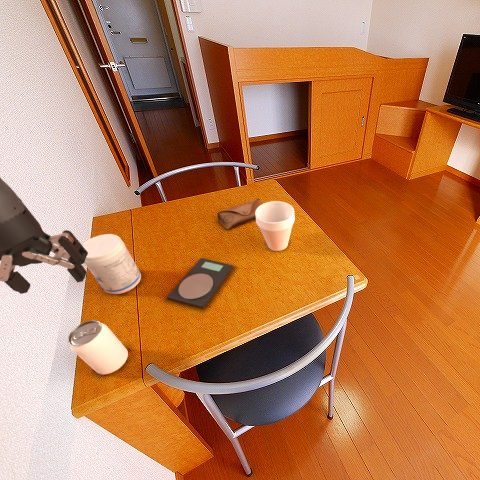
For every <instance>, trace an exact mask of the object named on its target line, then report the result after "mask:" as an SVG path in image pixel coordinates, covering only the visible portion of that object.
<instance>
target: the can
mask: <svg viewBox="0 0 480 480" xmlns="http://www.w3.org/2000/svg"><path fill="white" fill-rule="evenodd" d="M67 343H68V344H69V347H70V350H72V352H73V353H75V355H77V356H78V357H79V358H80V359H81V360H82V361H83V362H84V363H86V364H87V365H88V366H89V367H90V368H91V369H92V370H94V371H95V372H96V374H99V375H109V374H112V373H114V372H116V371H118V370H119V369H121V367H123V366H124V364H125V363H126V361H127V359H128V357H129V351H128V349H127V348H126V347H125V345H124V344H123V343H122V341H120V339H119V338H118V337H117V336H116V335H115V334H114V332H113V331H112V330H111V329H110V328H109V327H108V326H107V324H105V323H102V322H101V321H99V320H97V319H95V320H93V319H92V320H87V321H84V322H82V323H80V324H79V325H77V326H76V327H74V328H73V329H72V330H71V332H70V333H69V334H68V336H67Z"/></svg>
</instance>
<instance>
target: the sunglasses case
mask: <svg viewBox="0 0 480 480" xmlns="http://www.w3.org/2000/svg"><path fill="white" fill-rule="evenodd" d="M262 204H263V203H262V202H261V199H260V198H257V199H255V200H252V201H249V202H245V203H241V204H239V205H236V206H234V207H231V208H228V209H226V210H221V211H219V212H218V213H217V219H218V221H219V223H220V224H221V225H222V226H223V227H224V228H225V229H226V230H230V229H232V228H234V227H236V226H239V225H242V224H244V223H247V222H249V221H252V220H256V216H255V211H256V209H257V208H258V207H259V206H260V205H262Z"/></svg>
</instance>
